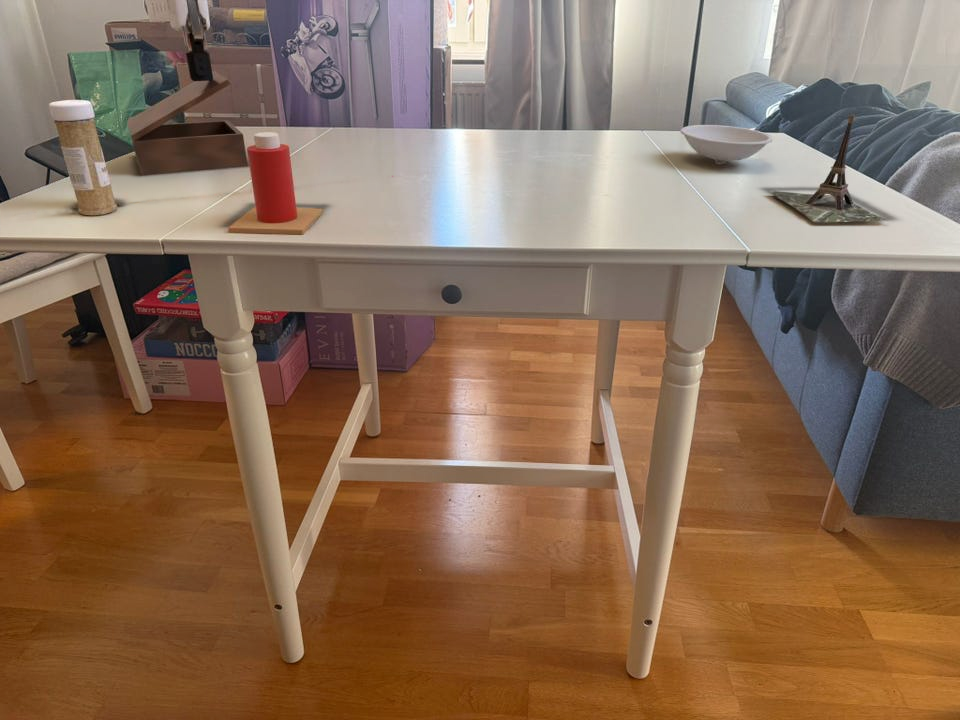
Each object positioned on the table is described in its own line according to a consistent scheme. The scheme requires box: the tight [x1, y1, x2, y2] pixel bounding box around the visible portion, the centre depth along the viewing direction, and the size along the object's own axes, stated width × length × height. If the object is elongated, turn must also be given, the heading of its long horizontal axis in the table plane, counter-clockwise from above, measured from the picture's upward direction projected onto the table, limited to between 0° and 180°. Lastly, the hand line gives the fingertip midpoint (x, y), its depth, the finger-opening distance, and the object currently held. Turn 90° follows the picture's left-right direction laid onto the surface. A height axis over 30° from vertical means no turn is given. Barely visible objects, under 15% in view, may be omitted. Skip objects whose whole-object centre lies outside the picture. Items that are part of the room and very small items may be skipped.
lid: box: [126, 70, 231, 140], centre depth 106 cm, size 16×15×1 cm
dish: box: [680, 124, 774, 165], centre depth 116 cm, size 18×14×5 cm
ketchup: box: [246, 131, 297, 223], centre depth 81 cm, size 5×5×10 cm
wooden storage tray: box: [131, 119, 249, 176], centre depth 109 cm, size 16×15×6 cm
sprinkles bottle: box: [48, 99, 118, 216], centre depth 84 cm, size 5×5×13 cm
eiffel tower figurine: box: [767, 105, 888, 223], centre depth 89 cm, size 15×10×13 cm
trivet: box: [227, 206, 324, 235], centre depth 84 cm, size 9×9×1 cm
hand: (202, 80), depth 106 cm, fingers closed
